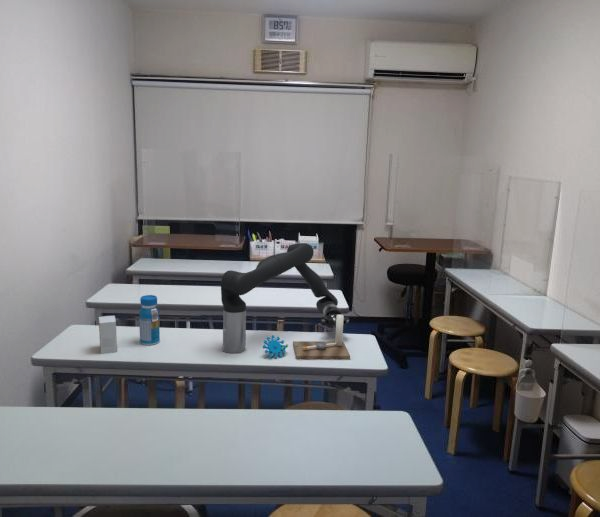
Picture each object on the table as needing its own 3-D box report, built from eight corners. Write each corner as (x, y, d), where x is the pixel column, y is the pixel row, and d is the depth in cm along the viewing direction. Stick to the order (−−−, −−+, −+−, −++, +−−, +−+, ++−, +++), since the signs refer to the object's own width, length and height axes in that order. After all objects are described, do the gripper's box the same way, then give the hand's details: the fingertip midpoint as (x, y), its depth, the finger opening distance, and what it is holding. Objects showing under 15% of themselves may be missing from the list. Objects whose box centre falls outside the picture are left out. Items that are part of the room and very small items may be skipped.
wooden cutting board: (296, 359, 205) (296, 355, 205) (292, 344, 220) (293, 341, 220) (350, 359, 207) (350, 355, 207) (343, 344, 223) (343, 341, 222)
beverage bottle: (138, 346, 212) (137, 300, 208) (140, 339, 220) (138, 294, 216) (159, 345, 214) (158, 299, 210) (160, 338, 222) (159, 293, 218)
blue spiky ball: (265, 357, 202) (262, 334, 207) (260, 363, 206) (257, 340, 212) (290, 357, 207) (287, 334, 212) (285, 363, 211) (282, 340, 216)
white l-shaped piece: (305, 352, 208) (306, 321, 205) (300, 348, 212) (301, 318, 209) (344, 346, 216) (345, 316, 213) (338, 342, 220) (340, 313, 217)
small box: (99, 346, 210) (98, 316, 208) (116, 344, 213) (114, 315, 210) (100, 353, 203) (99, 322, 201) (117, 352, 206) (116, 321, 203)
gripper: (318, 306, 234) (323, 318, 217) (346, 306, 236) (354, 318, 219) (317, 321, 236) (322, 334, 219) (345, 321, 237) (353, 334, 220)
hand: (338, 326), depth 219 cm, fingers closed
